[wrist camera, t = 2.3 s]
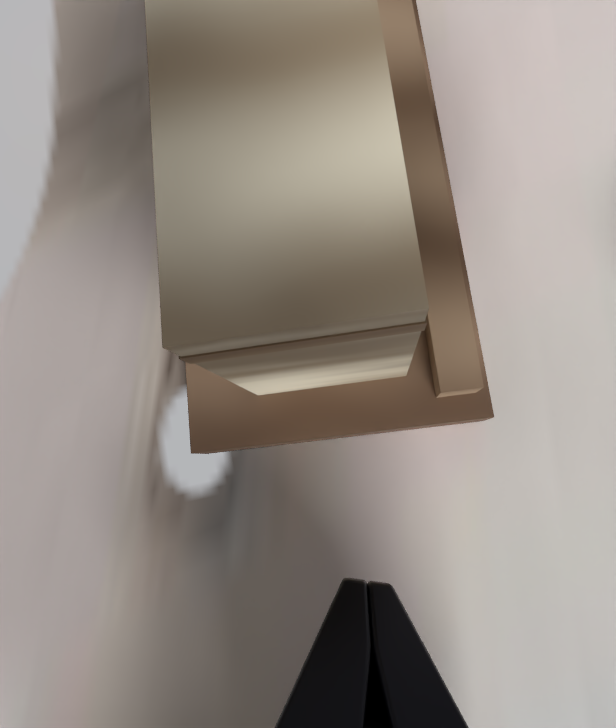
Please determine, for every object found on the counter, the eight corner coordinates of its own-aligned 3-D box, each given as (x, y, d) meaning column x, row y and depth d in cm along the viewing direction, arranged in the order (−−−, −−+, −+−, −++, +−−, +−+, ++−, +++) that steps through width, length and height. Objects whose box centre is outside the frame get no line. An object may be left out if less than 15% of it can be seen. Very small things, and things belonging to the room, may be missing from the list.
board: (483, 420, 20) (517, 409, 15) (207, 453, 22) (155, 452, 17) (392, -73, 26) (396, -203, 20) (175, -20, 27) (128, -130, 22)
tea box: (407, 376, 19) (431, 310, 10) (257, 396, 20) (160, 349, 11) (363, 90, 22) (352, -156, 13) (231, 117, 22) (137, -100, 14)
